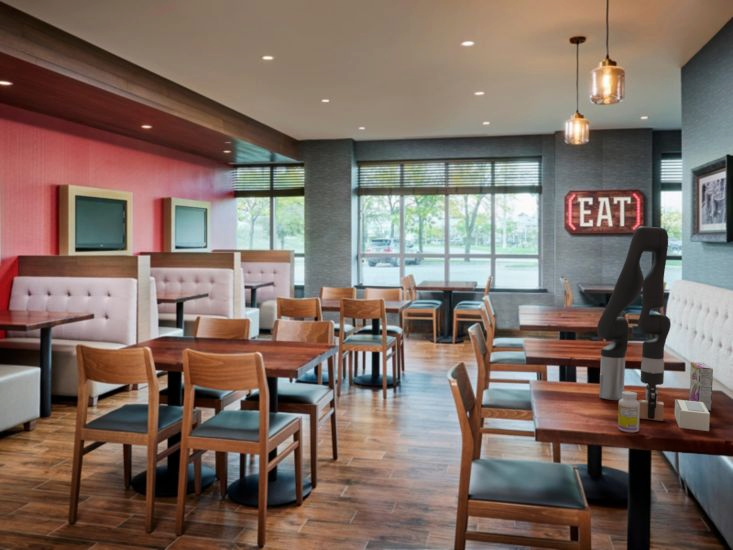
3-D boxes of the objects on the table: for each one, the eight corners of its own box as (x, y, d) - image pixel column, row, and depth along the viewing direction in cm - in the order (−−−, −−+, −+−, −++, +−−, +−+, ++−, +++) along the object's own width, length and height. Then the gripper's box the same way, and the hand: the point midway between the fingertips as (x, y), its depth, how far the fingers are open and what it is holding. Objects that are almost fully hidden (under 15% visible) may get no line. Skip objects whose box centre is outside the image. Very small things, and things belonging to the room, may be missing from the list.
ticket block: (679, 427, 209) (680, 410, 209) (674, 415, 224) (675, 398, 224) (708, 431, 206) (709, 413, 206) (702, 418, 221) (702, 401, 221)
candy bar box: (688, 402, 243) (690, 361, 242) (701, 403, 242) (703, 362, 241) (697, 409, 232) (699, 367, 231) (711, 410, 231) (713, 368, 230)
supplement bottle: (624, 425, 211) (625, 389, 210) (642, 430, 206) (644, 393, 205) (613, 429, 207) (615, 392, 206) (632, 434, 201) (634, 396, 201)
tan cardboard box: (638, 418, 220) (639, 401, 219) (638, 415, 223) (638, 399, 223) (663, 420, 217) (663, 404, 216) (662, 417, 220) (663, 401, 220)
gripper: (639, 365, 227) (638, 410, 228) (642, 372, 214) (640, 420, 215) (662, 367, 224) (660, 412, 225) (665, 374, 211) (663, 423, 212)
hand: (650, 416), depth 220 cm, fingers closed on tan cardboard box, 4 cm apart
